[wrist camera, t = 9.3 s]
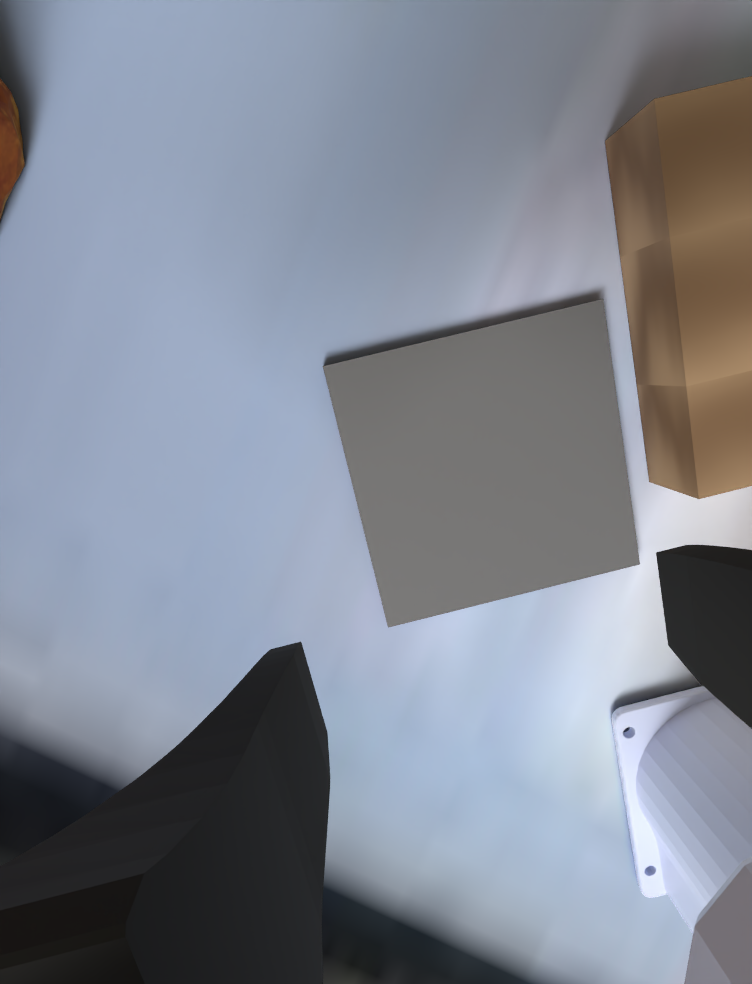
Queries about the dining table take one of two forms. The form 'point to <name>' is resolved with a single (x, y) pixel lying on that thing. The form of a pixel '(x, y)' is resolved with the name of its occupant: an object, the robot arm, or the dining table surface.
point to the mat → (487, 462)
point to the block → (690, 281)
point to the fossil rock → (9, 144)
